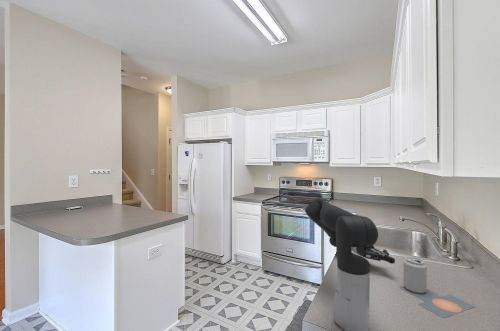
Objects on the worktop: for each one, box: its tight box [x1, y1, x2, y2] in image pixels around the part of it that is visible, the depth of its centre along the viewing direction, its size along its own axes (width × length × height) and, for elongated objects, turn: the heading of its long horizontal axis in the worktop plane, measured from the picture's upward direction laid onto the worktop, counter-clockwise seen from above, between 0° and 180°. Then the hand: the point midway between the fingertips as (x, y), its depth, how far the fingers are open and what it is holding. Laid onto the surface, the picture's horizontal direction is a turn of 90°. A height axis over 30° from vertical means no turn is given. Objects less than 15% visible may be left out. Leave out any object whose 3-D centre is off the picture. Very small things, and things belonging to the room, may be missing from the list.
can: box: [402, 256, 428, 294], centre depth 92 cm, size 8×8×12 cm
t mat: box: [399, 286, 476, 319], centre depth 86 cm, size 18×18×1 cm
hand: (393, 261), depth 100 cm, fingers closed
